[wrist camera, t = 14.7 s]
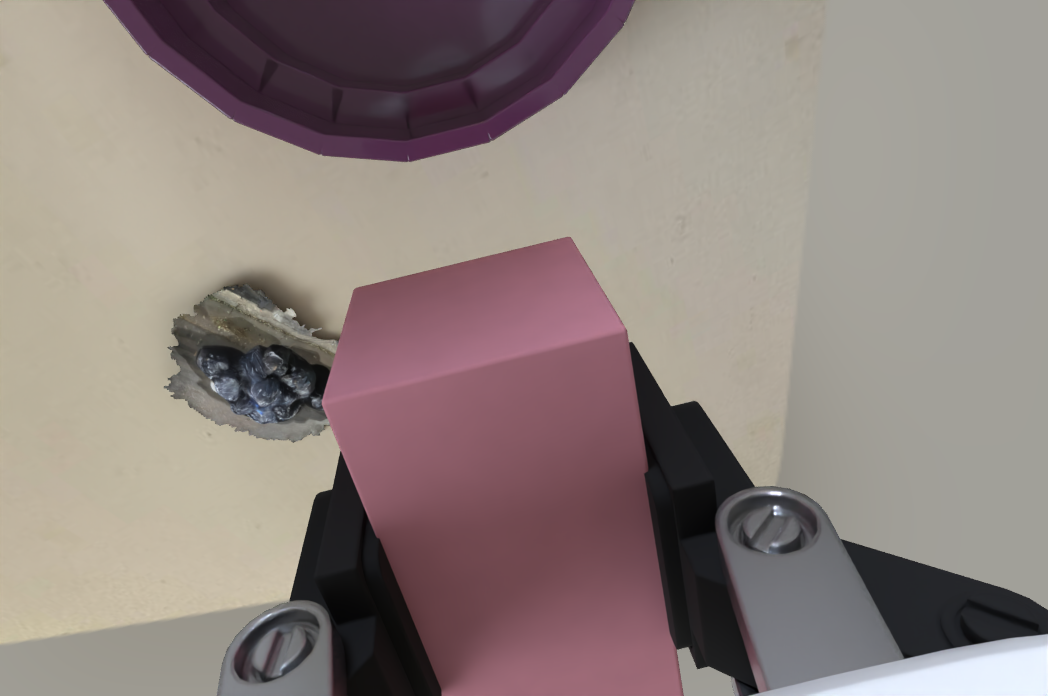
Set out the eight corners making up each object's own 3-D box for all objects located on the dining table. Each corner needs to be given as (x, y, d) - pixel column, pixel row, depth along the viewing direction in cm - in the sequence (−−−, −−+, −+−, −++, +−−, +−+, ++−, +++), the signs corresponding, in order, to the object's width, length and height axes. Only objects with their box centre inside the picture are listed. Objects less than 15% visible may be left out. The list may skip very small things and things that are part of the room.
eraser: (353, 287, 11) (319, 402, 8) (571, 234, 11) (627, 328, 8) (463, 600, 14) (471, 772, 11) (630, 559, 14) (687, 718, 11)
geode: (182, 262, 25) (163, 281, 23) (400, 313, 27) (398, 334, 25) (165, 416, 27) (147, 443, 26) (364, 453, 29) (360, 480, 28)
